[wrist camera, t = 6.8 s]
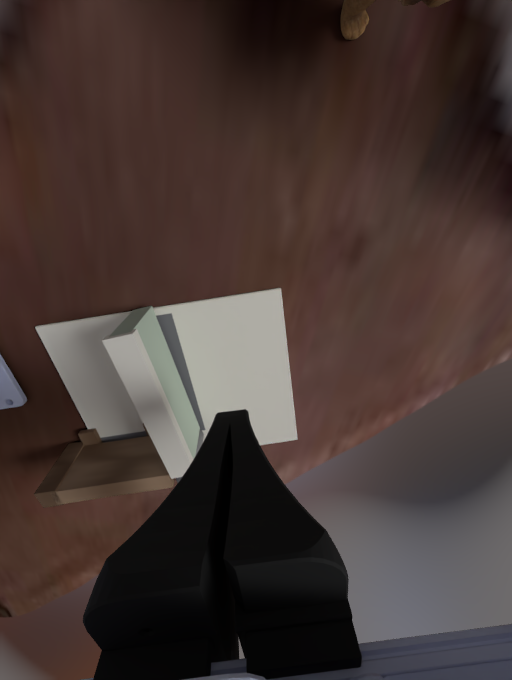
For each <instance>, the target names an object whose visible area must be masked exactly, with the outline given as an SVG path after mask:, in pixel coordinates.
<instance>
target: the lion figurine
mask: <svg viewBox="0 0 512 680" xmlns="http://www.w3.org/2000/svg"><path fill="white" fill-rule="evenodd" d="M374 1H375V0H344V2H343V6H342V12H341V32H342V34H343V36H344V38H345V39H346V40H355V39H356V38H358V37H359V36H361V35H362V34H363V32H364V30H365V27H366V25H367V24H368V21H369V17H368V14H367V12H366V10H365V9H366V8H367V7H369V6H370V5H371V4H372V3H373V2H374ZM398 1H400V2H401V3H402V5H403V6H408V5H414V4H416V3H418V2H419V1H423V2H424V3H425V4H426V5H427V6H428V7H437V6H439V5H441V4H443V3H445V2H447V1H450V0H398Z"/></svg>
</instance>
